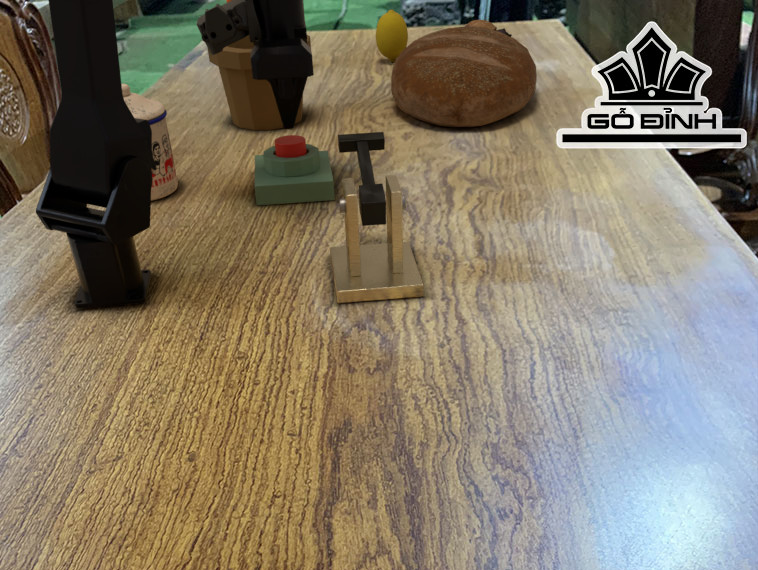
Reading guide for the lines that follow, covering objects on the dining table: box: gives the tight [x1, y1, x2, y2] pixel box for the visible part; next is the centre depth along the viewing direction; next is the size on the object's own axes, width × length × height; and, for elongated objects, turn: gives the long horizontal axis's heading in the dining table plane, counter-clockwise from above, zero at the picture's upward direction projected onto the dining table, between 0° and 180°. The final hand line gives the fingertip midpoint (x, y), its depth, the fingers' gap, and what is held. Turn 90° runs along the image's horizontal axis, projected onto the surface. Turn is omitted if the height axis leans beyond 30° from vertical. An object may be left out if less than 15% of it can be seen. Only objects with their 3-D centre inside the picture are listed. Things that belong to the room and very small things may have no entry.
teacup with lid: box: [121, 83, 179, 202], centre depth 97 cm, size 12×9×12 cm
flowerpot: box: [206, 34, 312, 131], centre depth 111 cm, size 14×14×30 cm
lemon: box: [375, 9, 409, 63], centre depth 142 cm, size 6×6×8 cm
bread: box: [390, 26, 538, 128], centre depth 125 cm, size 22×37×8 cm, turn 175°
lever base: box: [329, 174, 424, 304], centre depth 77 cm, size 10×8×9 cm
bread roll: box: [463, 19, 513, 37], centre depth 153 cm, size 11×8×4 cm
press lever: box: [337, 131, 387, 227], centre depth 78 cm, size 12×4×2 cm, turn 6°
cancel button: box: [274, 134, 307, 158], centre depth 97 cm, size 4×4×2 cm
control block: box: [254, 143, 335, 206], centre depth 98 cm, size 11×9×4 cm
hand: (288, 128), depth 95 cm, fingers closed
